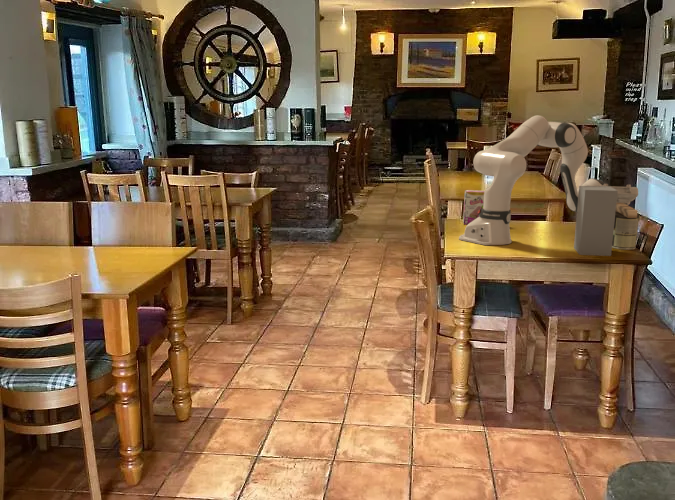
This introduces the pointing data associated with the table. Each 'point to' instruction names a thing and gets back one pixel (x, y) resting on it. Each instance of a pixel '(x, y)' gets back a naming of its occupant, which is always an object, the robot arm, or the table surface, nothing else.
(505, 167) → the robot arm
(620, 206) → the beech bar
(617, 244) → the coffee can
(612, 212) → the pedestal
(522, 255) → the table surface
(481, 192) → the candy bar box
